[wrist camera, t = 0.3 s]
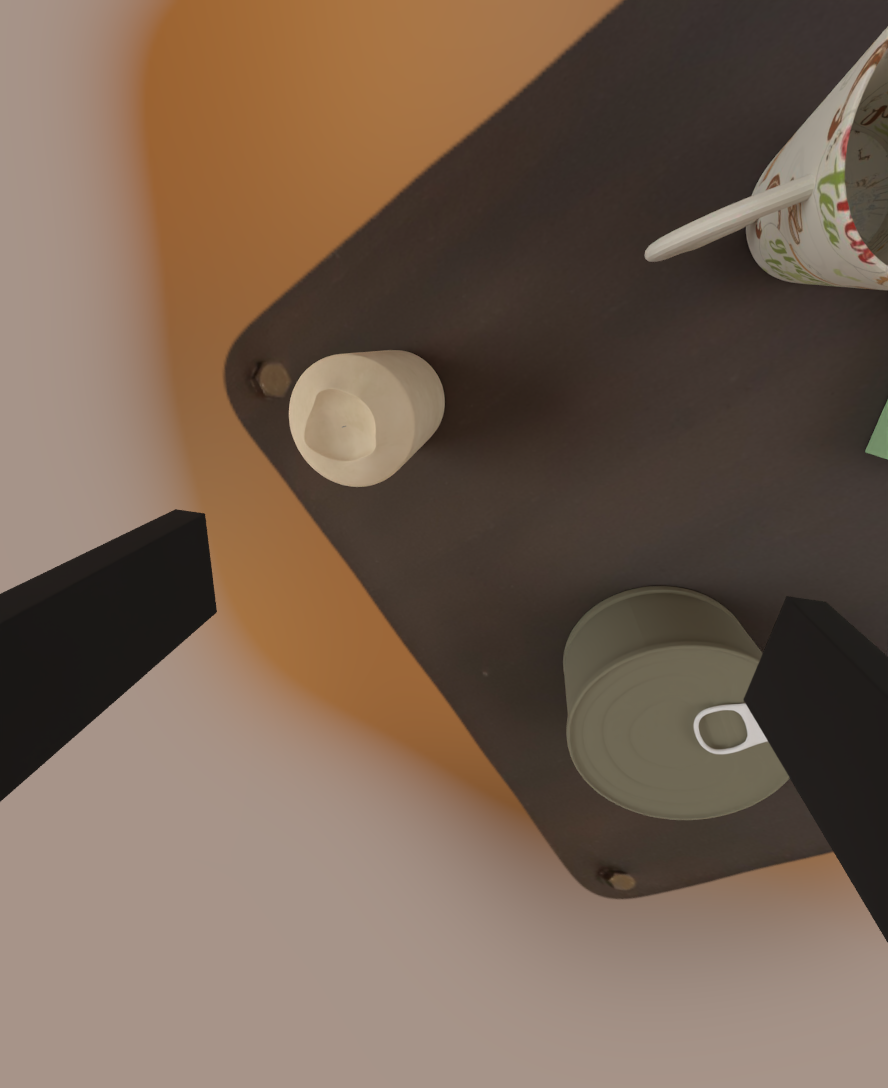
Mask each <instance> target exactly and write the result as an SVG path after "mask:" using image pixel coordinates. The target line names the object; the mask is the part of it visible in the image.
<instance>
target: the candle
mask: <svg viewBox="0 0 888 1088" xmlns="http://www.w3.org/2000/svg"><path fill="white" fill-rule="evenodd" d="M444 408H445V397H444V391H443V387H442V384H441V381H440V379H439V377H438V375H437V374H436V372H435V371H434V369H433V368H432V367H431V366H430V365H429V364H428V363H427V362H426V361H425V360H423V359H422V358H420V357H419V356H417V355H415V354H413V353H410V352H407V351H401V350H386V351H373V352H359V353H347V354H337V355H332V356H328V357H325V358H323V359H321V360H319V361H317V362H316V363H314V364H312V365H311V366H310V367H309V368H308V369H307V370H306V371H305V372H304V373H303V374H302V375H301V377H300V378H299V380H298V381H297V383H296V385H295V387H294V389H293V392H292V396H291V399H290V405H289V422H290V428H291V433H292V436H293V439H294V441H295V444H296V446H297V448H298V450H299V451H300V453H301V455H302V456H303V457H304V459H305V460H306V461H307V463H308V464H309V465H310V466H311V467H312V468H313V469H314V470H316V471H317V472H318V473H319V474H321V475H322V476H324V477H325V478H327V479H329V480H331V481H333V482H336V483H339V484H342V485H346V486H353V487H363V486H370V485H374V484H377V483H380V482H382V481H384V480H386V479H387V478H389V477H390V476H392V475H393V474H394V473H395V472H396V471H397V470H398V469H400V468H401V467H402V466H403V465H404V464H405V463H406V462H407V461H408V460H409V459H410V458H411V457H412V456H413V455H414V454H415V453H416V452H417V451H418V450H419V449H420V448H421V447H422V446H423V445H424V444H425V443H426V442H427V441H428V440H429V439H430V437H431V436H432V435H433V434H434V433H435V431H436V430H437V428H438V427H439V425H440V423H441V420H442V417H443V414H444Z"/></svg>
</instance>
